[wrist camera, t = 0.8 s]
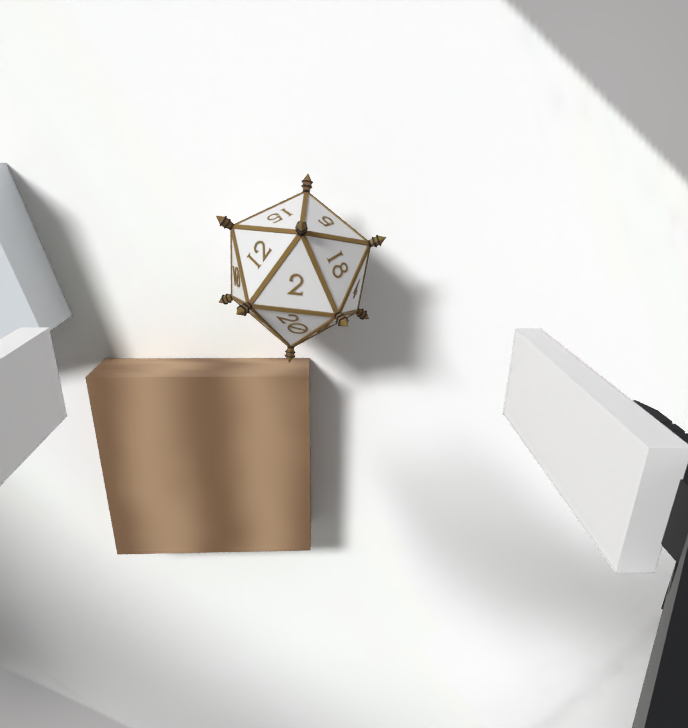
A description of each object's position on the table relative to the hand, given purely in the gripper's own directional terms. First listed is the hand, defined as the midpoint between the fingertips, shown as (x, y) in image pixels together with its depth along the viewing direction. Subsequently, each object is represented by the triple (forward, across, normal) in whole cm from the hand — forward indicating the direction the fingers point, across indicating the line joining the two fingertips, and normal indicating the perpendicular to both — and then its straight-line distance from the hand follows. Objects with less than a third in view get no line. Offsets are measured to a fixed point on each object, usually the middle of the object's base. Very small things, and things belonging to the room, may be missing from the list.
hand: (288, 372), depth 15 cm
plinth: (+18, -6, -13) cm, 23 cm away
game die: (+18, 0, 0) cm, 18 cm away
